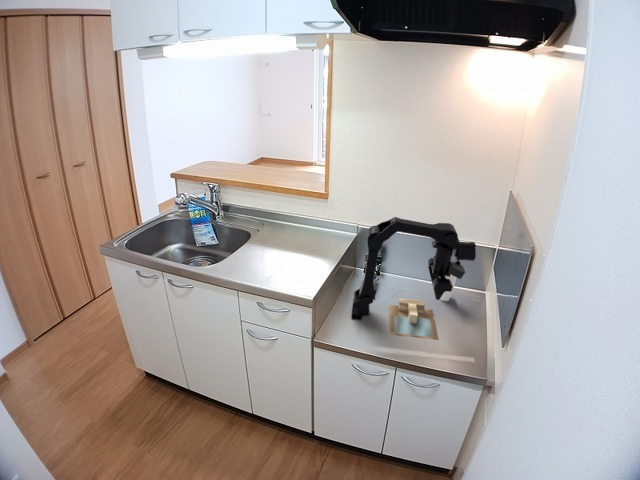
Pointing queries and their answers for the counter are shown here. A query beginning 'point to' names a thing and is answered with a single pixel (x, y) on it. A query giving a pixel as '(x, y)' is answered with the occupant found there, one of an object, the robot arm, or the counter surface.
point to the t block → (411, 308)
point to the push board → (412, 324)
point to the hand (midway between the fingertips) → (435, 292)
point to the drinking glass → (447, 294)
